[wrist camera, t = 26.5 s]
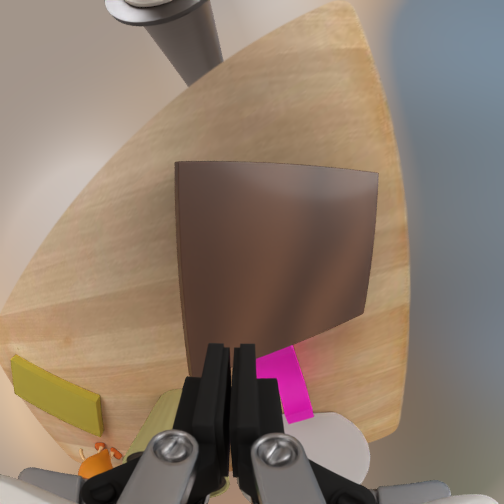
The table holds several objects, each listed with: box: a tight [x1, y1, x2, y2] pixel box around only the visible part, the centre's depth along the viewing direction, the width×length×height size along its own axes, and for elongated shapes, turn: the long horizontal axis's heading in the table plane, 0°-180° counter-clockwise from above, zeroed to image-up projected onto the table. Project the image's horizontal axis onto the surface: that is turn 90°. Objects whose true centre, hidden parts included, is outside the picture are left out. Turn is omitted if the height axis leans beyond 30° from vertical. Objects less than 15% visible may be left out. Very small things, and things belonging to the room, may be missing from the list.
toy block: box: [256, 345, 314, 424], centre depth 37 cm, size 15×6×8 cm, turn 19°
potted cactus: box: [123, 389, 230, 498], centre depth 30 cm, size 15×15×30 cm
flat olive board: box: [11, 355, 104, 437], centre depth 43 cm, size 12×2×24 cm
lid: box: [175, 161, 379, 377], centre depth 24 cm, size 20×16×1 cm
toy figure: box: [78, 443, 122, 479], centre depth 41 cm, size 12×8×15 cm, turn 68°
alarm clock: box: [237, 412, 370, 503], centre depth 36 cm, size 21×8×20 cm, turn 85°
